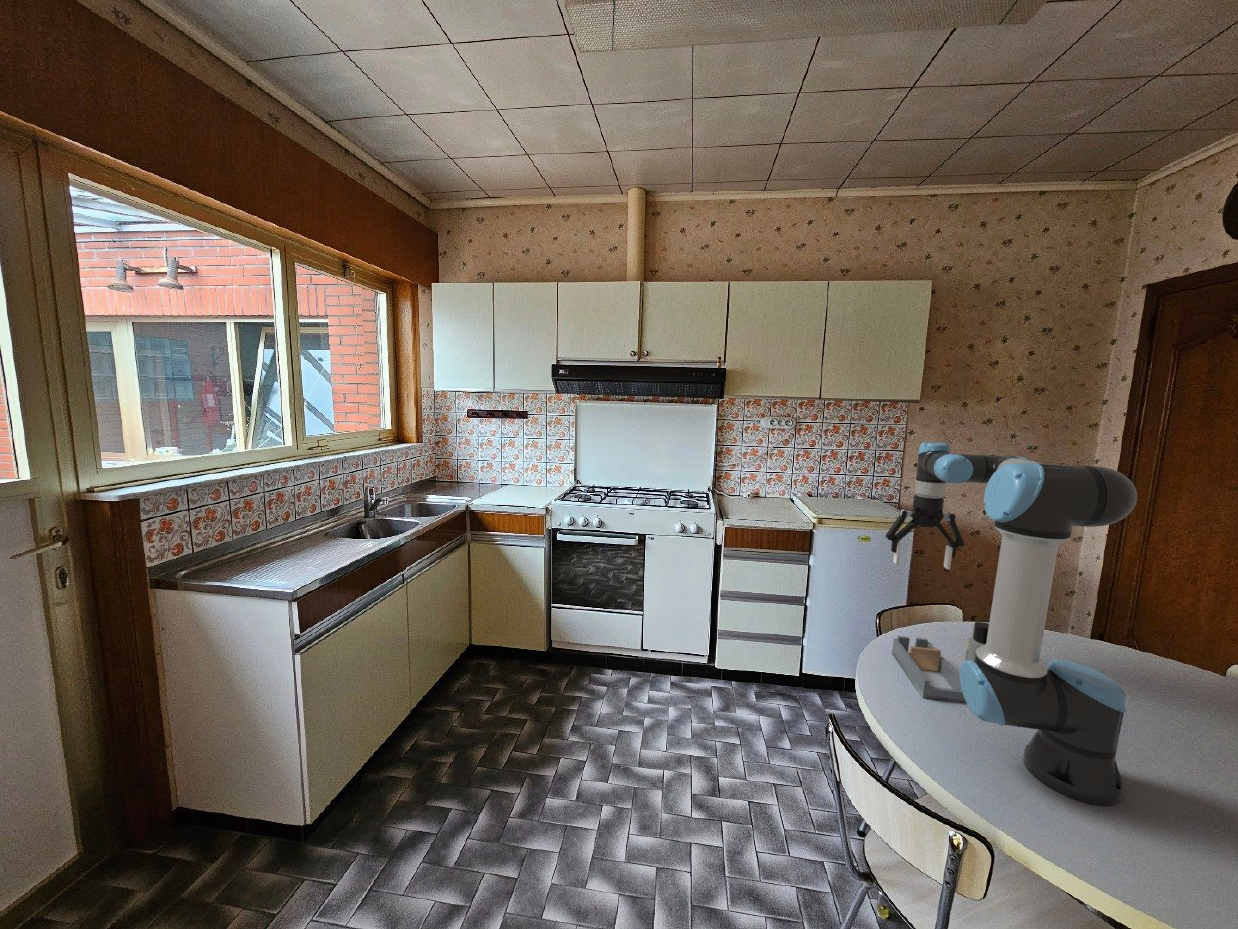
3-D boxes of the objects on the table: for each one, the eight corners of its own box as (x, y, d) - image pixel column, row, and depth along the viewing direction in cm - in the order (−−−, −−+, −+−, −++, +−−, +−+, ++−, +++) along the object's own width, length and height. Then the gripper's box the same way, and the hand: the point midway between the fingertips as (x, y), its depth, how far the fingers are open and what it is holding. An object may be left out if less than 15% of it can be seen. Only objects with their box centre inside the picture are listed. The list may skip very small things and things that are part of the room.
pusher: (938, 671, 140) (940, 651, 139) (909, 668, 141) (912, 648, 140) (927, 658, 147) (930, 639, 146) (900, 655, 148) (902, 636, 147)
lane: (965, 704, 127) (968, 682, 127) (922, 698, 129) (925, 677, 128) (928, 657, 150) (930, 639, 149) (892, 653, 152) (894, 635, 151)
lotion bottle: (992, 702, 128) (1003, 629, 125) (970, 702, 128) (980, 628, 125) (977, 689, 134) (987, 619, 131) (956, 689, 134) (965, 618, 131)
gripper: (971, 496, 146) (963, 565, 149) (879, 490, 152) (872, 557, 155) (983, 501, 139) (974, 574, 142) (885, 494, 145) (878, 565, 148)
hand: (921, 565), depth 148 cm, fingers open, 13 cm apart
